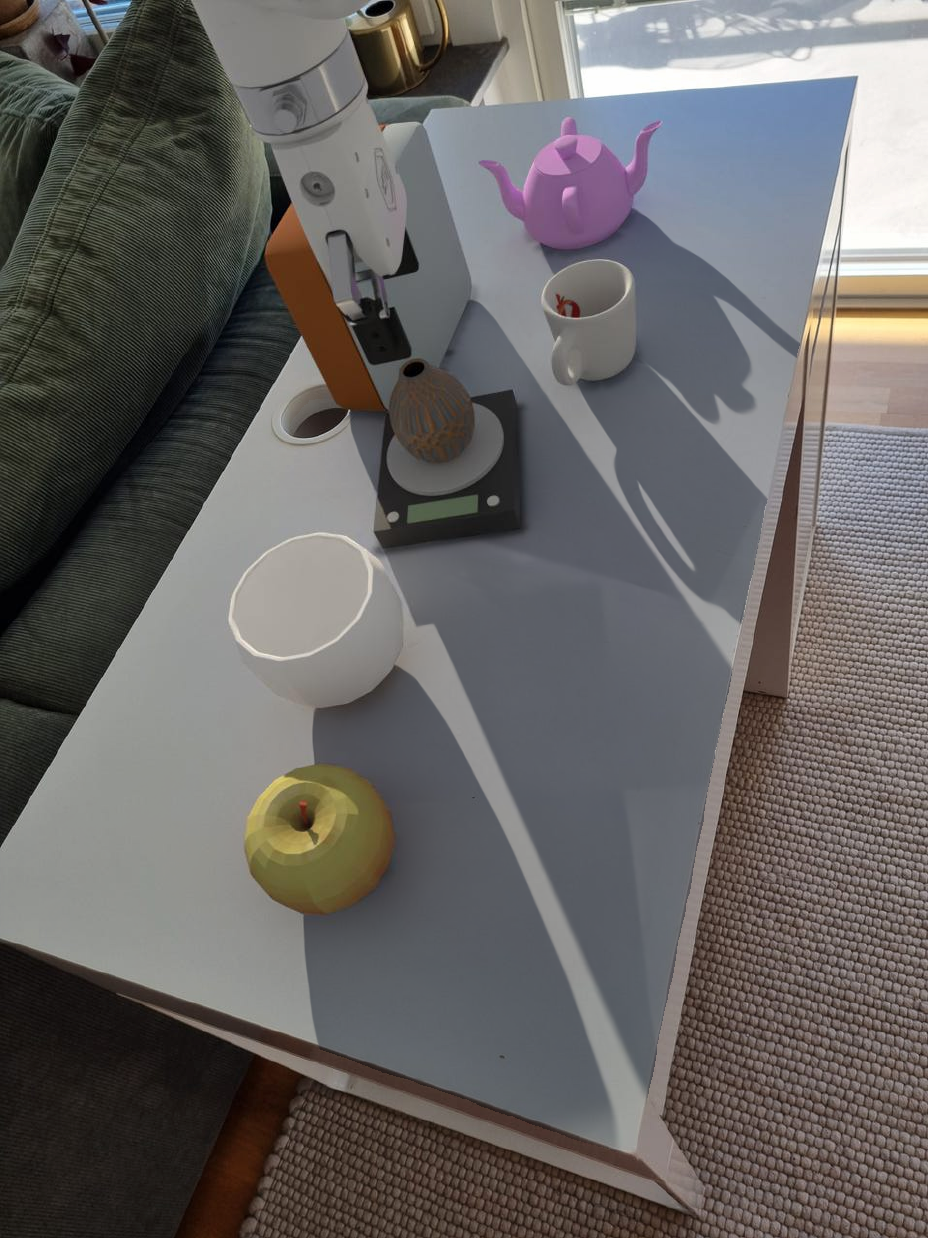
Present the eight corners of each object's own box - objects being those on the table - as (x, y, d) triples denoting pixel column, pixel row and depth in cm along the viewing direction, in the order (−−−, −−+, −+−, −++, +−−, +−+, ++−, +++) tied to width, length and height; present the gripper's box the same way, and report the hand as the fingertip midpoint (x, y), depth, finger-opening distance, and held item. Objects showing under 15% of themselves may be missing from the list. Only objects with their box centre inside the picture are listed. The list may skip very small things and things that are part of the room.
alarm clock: (400, 288, 100) (328, 98, 83) (477, 287, 96) (417, 88, 80) (338, 416, 91) (244, 231, 75) (420, 419, 88) (340, 226, 71)
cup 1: (436, 597, 76) (398, 522, 68) (406, 735, 69) (360, 670, 62) (299, 598, 80) (248, 527, 72) (258, 729, 73) (198, 668, 65)
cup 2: (608, 421, 81) (594, 350, 75) (528, 405, 85) (509, 336, 79) (658, 337, 85) (649, 263, 79) (580, 325, 89) (565, 253, 83)
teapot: (497, 237, 100) (476, 160, 93) (592, 167, 103) (579, 86, 96) (570, 276, 93) (554, 195, 86) (670, 200, 96) (663, 116, 89)
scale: (518, 408, 85) (511, 383, 83) (520, 528, 77) (512, 505, 75) (393, 431, 88) (382, 407, 85) (382, 549, 80) (370, 527, 78)
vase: (473, 405, 82) (446, 326, 75) (491, 458, 78) (463, 380, 71) (400, 432, 83) (365, 356, 76) (413, 486, 79) (378, 411, 72)
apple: (409, 784, 67) (371, 734, 61) (407, 921, 62) (365, 882, 55) (282, 800, 69) (232, 754, 63) (269, 935, 64) (213, 899, 57)
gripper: (345, 146, 50) (440, 385, 64) (371, -2, 60) (448, 233, 73) (218, 181, 52) (337, 406, 65) (264, 32, 62) (359, 255, 75)
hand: (396, 314), depth 69 cm, fingers open, 9 cm apart
